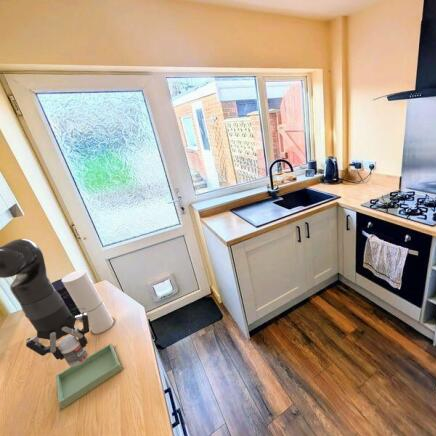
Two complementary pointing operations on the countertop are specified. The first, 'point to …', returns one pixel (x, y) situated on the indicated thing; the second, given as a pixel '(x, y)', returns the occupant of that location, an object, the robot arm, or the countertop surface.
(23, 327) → the countertop surface
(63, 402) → the tray
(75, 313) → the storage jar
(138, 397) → the countertop surface
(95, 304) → the cylindrical container
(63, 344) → the pill bottle
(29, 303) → the robot arm
